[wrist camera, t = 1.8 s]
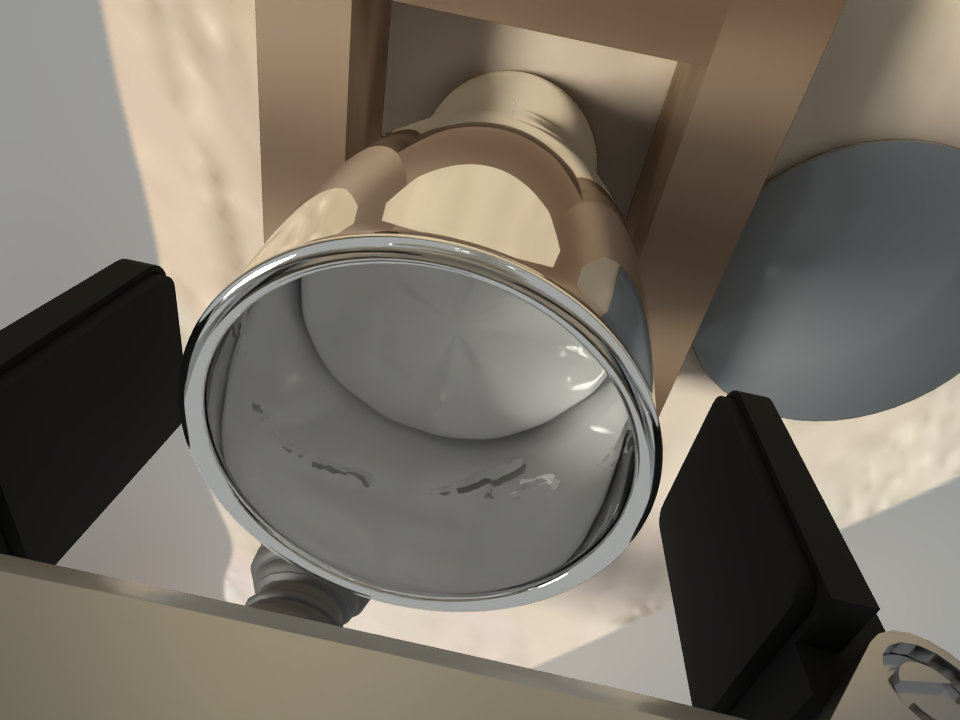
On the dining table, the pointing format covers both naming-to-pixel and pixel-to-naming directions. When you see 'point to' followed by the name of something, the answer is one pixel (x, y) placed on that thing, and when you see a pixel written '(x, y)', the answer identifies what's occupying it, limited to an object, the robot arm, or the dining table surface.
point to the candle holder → (299, 592)
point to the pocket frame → (595, 19)
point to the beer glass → (439, 365)
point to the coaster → (843, 284)
